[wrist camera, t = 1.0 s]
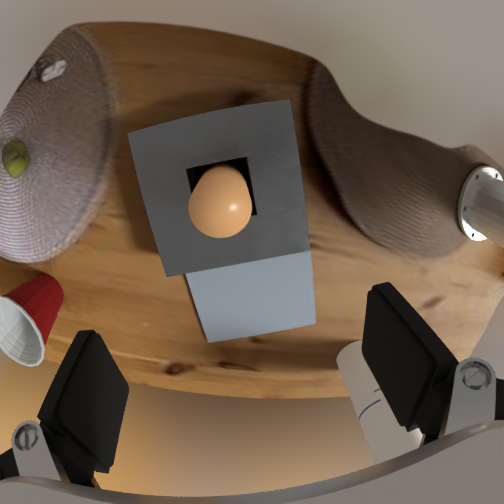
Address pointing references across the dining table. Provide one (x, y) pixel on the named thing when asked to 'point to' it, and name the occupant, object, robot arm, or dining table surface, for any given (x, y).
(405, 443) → the cylindrical container
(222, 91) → the dining table surface
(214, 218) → the orange rounded cylinder
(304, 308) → the mat
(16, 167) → the lime
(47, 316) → the plastic cup
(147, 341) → the dining table surface
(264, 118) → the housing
